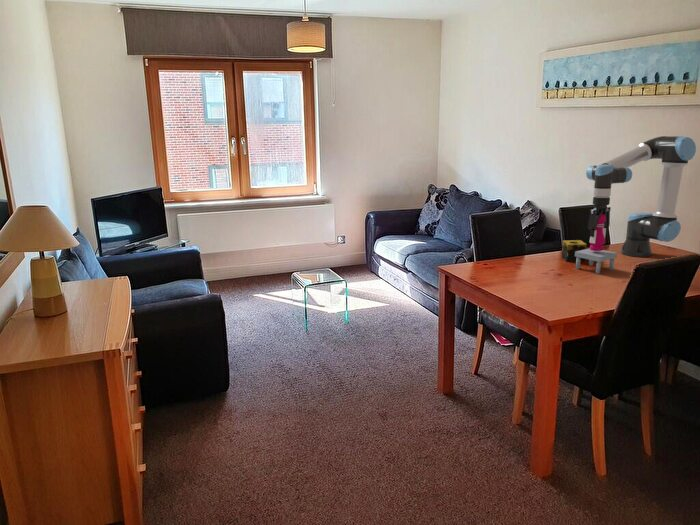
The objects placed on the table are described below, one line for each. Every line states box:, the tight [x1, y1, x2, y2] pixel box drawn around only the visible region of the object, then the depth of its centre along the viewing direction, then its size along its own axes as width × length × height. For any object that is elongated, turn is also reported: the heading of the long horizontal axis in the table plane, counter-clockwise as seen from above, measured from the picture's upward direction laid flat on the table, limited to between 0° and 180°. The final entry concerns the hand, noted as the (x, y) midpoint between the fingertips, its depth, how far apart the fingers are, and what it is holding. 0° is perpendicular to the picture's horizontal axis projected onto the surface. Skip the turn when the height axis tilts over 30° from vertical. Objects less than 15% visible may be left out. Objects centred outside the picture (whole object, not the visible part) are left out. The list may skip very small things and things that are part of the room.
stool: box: [575, 247, 618, 275], centre depth 263 cm, size 14×14×9 cm
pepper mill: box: [589, 214, 606, 251], centre depth 259 cm, size 7×7×20 cm
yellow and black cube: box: [561, 239, 587, 263], centre depth 282 cm, size 10×10×10 cm
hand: (597, 241), depth 260 cm, fingers closed on pepper mill, 7 cm apart
